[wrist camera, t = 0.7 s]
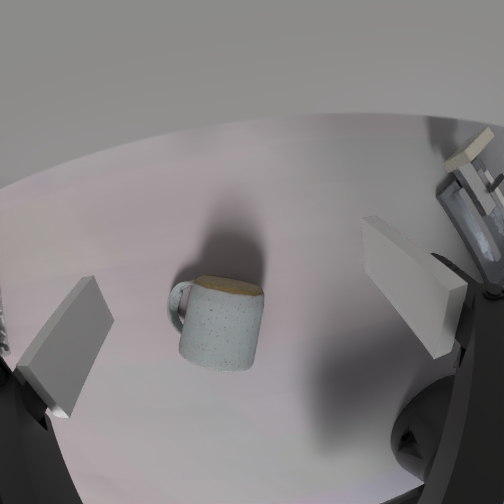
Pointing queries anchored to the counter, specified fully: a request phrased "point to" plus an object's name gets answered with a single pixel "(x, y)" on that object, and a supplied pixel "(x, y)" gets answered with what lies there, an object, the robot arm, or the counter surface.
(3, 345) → the aluminum extrusion profile
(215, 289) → the grey tan cylinder
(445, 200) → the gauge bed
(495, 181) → the sliding gauge carriage
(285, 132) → the counter surface
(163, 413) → the counter surface
